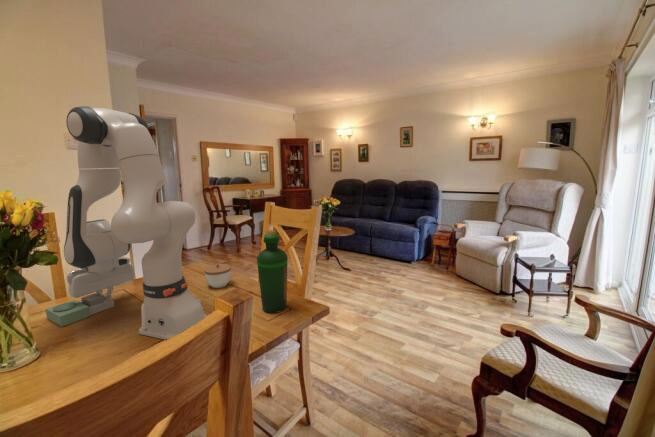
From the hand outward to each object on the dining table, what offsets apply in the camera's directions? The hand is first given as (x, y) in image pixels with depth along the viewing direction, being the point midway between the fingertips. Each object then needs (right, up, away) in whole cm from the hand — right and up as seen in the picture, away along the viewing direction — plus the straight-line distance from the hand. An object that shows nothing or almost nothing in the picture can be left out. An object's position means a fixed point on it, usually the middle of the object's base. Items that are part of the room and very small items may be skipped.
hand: (106, 299), depth 116 cm
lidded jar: (+36, +2, +17) cm, 40 cm away
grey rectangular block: (-2, -2, -4) cm, 5 cm away
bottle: (+63, -2, -4) cm, 63 cm away
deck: (-4, -3, -6) cm, 8 cm away
